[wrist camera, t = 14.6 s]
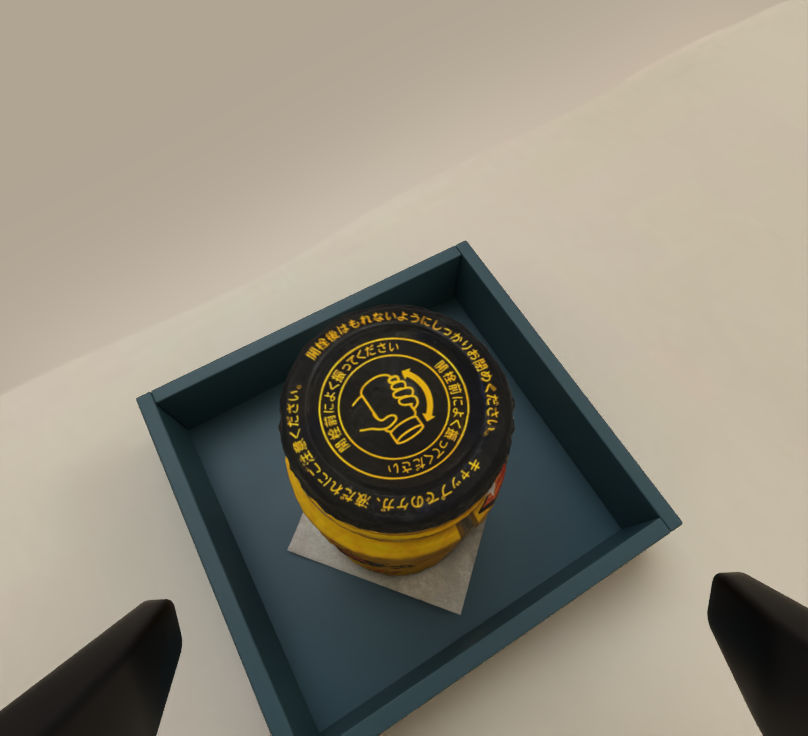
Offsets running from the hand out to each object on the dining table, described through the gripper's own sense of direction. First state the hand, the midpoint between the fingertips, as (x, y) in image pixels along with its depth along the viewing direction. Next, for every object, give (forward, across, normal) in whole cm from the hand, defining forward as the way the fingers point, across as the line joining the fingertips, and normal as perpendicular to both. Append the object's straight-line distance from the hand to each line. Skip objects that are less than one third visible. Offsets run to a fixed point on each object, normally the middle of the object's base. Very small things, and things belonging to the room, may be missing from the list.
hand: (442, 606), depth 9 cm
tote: (+13, +1, +5) cm, 14 cm away
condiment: (+13, +1, +5) cm, 14 cm away
